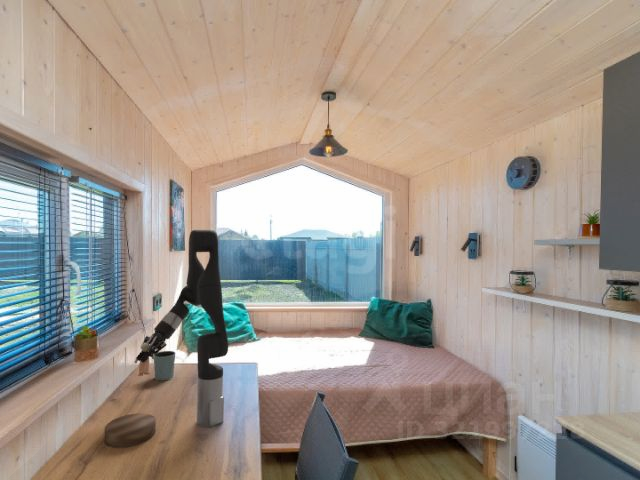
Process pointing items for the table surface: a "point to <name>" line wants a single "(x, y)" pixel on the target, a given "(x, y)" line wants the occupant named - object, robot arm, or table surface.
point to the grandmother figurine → (145, 366)
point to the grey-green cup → (164, 365)
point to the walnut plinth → (129, 430)
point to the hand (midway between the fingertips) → (140, 360)
